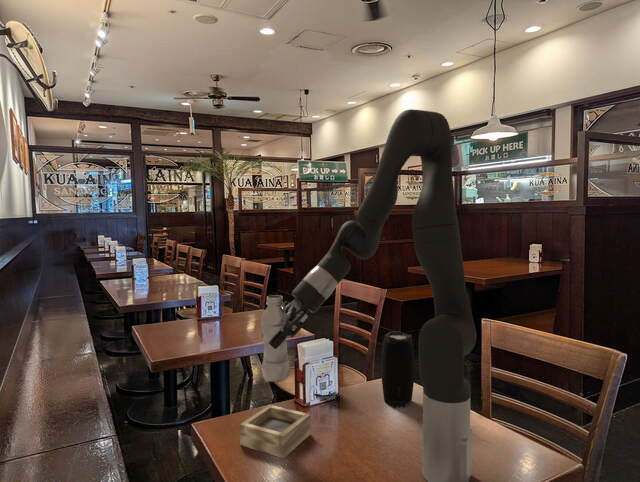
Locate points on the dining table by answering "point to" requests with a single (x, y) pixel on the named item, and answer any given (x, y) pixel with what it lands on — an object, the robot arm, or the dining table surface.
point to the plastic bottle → (271, 322)
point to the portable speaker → (397, 368)
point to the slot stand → (275, 430)
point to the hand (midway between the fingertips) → (268, 342)
